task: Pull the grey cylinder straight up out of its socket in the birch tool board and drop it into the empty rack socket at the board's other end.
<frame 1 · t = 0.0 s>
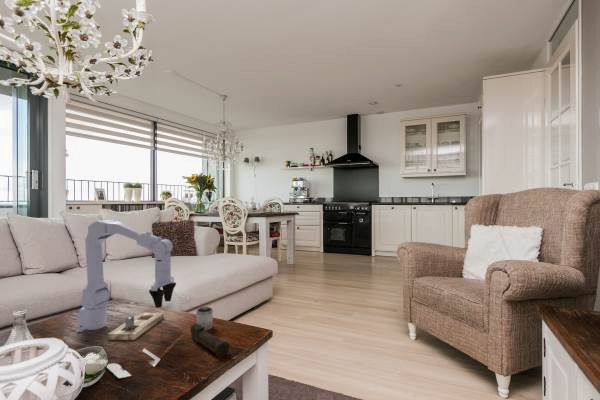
hand: (163, 304, 129), 10 cm above the table, fingers open, 7 cm apart
camera lens: (204, 328, 130), on the table
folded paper: (132, 367, 100), on the table
tool board: (138, 330, 128), on the table
grey cylinder: (129, 333, 123), point 1 cm above the table, touching tool board
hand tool: (205, 347, 113), on the table
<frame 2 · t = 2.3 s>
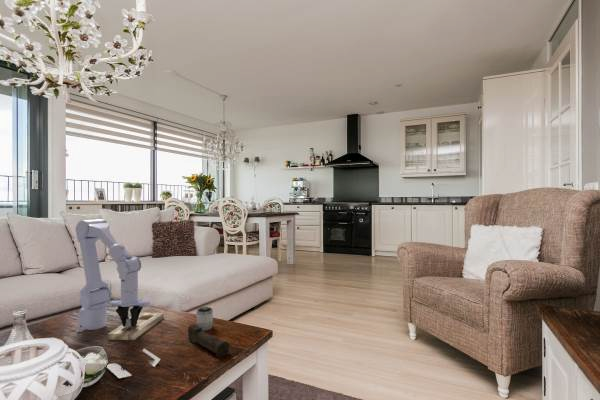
hand: (129, 325, 123), 4 cm above the table, fingers closed on grey cylinder, 3 cm apart
grey cylinder: (129, 333, 123), point 1 cm above the table, touching gripper, tool board
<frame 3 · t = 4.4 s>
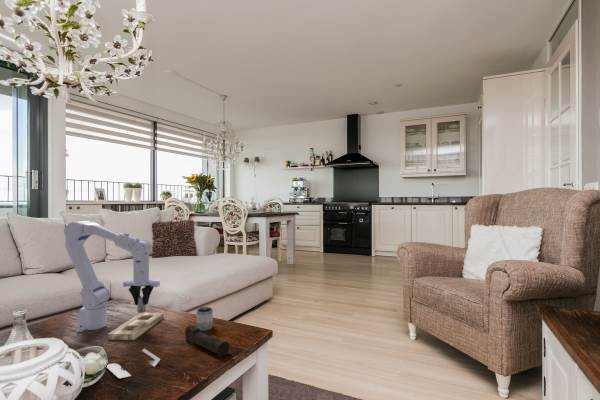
hand: (141, 304, 131), 9 cm above the table, fingers closed on grey cylinder, 3 cm apart
grey cylinder: (141, 311, 131), point 6 cm above the table, touching gripper
when the fingers open (5 cm above the table, at t = 6.4 s): grey cylinder stays where it is, resting on tool board.
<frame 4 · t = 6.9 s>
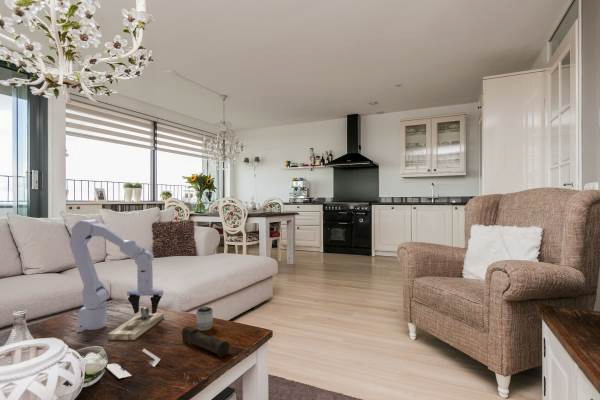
hand: (145, 312, 134), 5 cm above the table, fingers open, 7 cm apart
grey cylinder: (145, 322, 134), point 1 cm above the table, touching tool board
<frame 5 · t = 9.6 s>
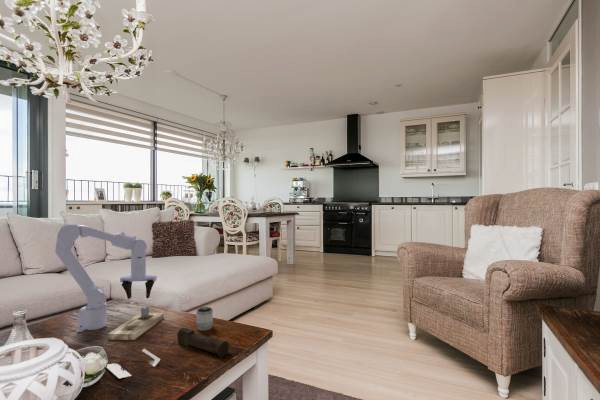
hand: (138, 297, 140), 9 cm above the table, fingers open, 7 cm apart
at the end: grey cylinder 0.1 cm from the target spot on the tool board, point 1.0 cm above the tool board's base; grey cylinder tilted 1°; the gripper is holding nothing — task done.
